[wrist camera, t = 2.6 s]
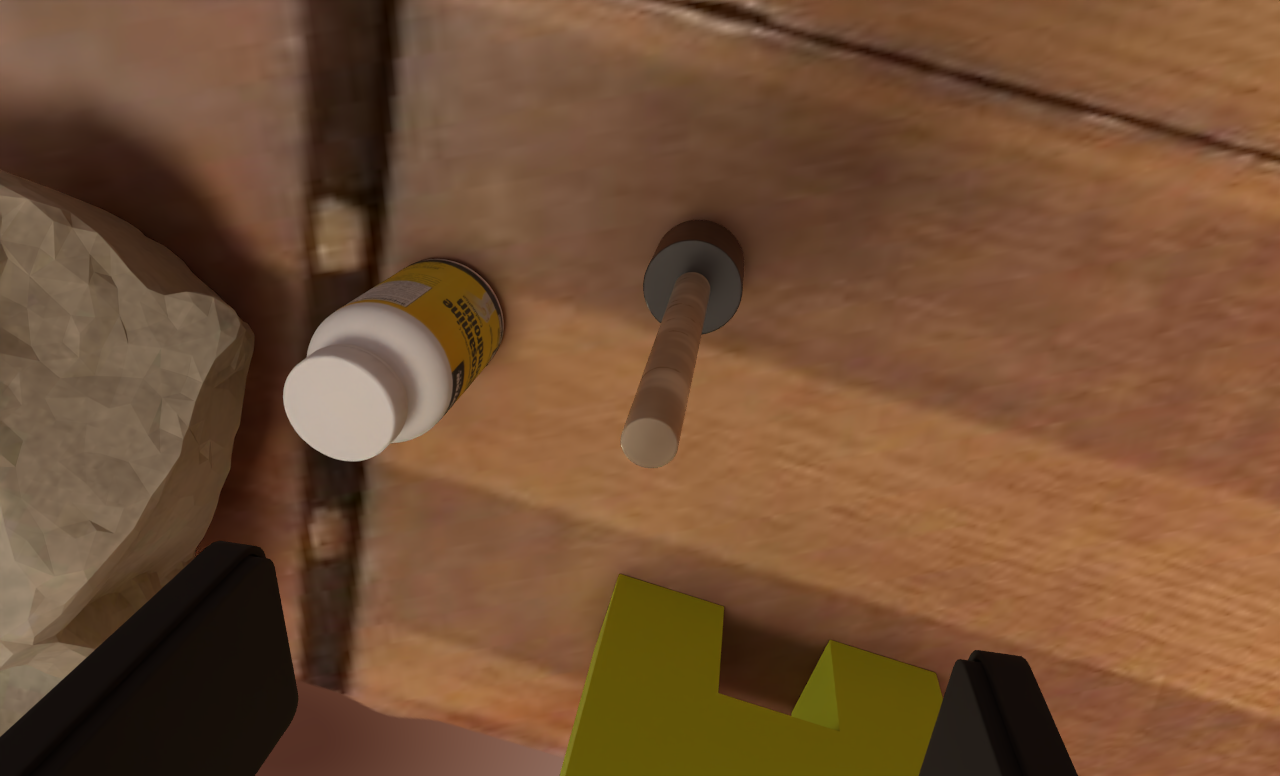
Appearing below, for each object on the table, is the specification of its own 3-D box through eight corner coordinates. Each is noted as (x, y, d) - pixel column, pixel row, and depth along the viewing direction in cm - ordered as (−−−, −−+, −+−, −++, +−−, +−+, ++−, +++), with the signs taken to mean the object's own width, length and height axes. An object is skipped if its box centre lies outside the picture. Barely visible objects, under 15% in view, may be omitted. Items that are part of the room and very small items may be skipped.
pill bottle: (492, 386, 41) (401, 504, 31) (382, 346, 41) (254, 450, 31) (520, 279, 38) (430, 370, 28) (401, 236, 38) (267, 311, 28)
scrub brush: (749, 223, 35) (738, 380, 19) (739, 311, 37) (720, 520, 21) (657, 215, 36) (572, 362, 20) (652, 302, 38) (569, 500, 22)
